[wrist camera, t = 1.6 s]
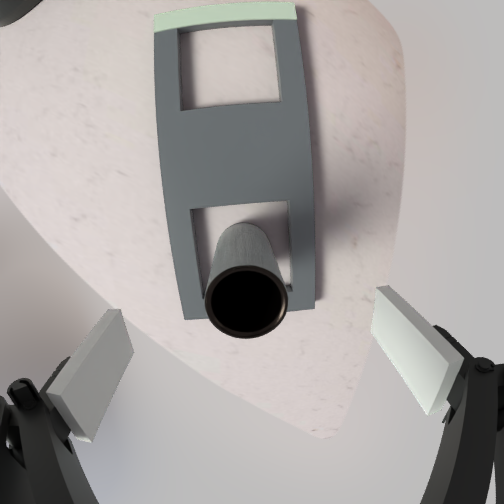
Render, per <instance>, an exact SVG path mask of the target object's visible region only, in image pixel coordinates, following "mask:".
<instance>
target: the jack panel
mask: <svg viewBox="0 0 504 504" xmlns="http://www.w3.org/2000/svg"><path fill="white" fill-rule="evenodd" d="M263 25H272V33H273V41H274V49H275V58H276V67H277V77H278V87H279V97H280V102H271V103H251V104H238V105H226V106H216V107H208V108H200V109H192V110H185V111H183V103H182V85H181V62H180V33H186V32H193V31H199V30H207V29H216V28H226V27H239V26H263ZM154 76H155V102H156V120H157V134H158V147H159V158H160V168H161V177H162V186H163V195H164V203H165V210H166V218H167V225H168V231H169V238H170V244H171V251H172V257H173V262H174V268H175V274H176V279H177V285H178V290H179V295H180V300H181V305H182V310H183V315H184V319H185V320H193V319H209V318H208V316H207V314H206V311H205V306H204V297H205V293H204V291H203V284H202V278H201V271H200V265H199V258H198V251H197V243H196V236H195V228H194V220H193V212H192V209H196V208H206V207H215V206H226V205H237V204H248V203H261V202H274V201H287V205H288V225H289V247H290V276H291V286H286V289H287V293H288V300H289V302H288V309H287V312H290V311H299V310H308V309H315V221H314V192H313V172H312V155H311V141H310V128H309V116H308V105H307V95H306V86H305V77H304V69H303V61H302V53H301V46H300V39H299V32H298V26H297V16H296V10H295V4H294V2H242V3H227V4H216V5H208V6H200V7H193V8H187V9H181V10H175V11H170V12H165V13H161V14H156V15H154Z"/></svg>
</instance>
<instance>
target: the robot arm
mask: <svg viewBox="0 0 504 504" xmlns="http://www.w3.org/2000/svg"><path fill="white" fill-rule="evenodd" d="M40 1H41V0H0V27H3V26H6V25H9V24H11V23H13V22H14V21H16V20H18V19H19V18H21V17H22V16H23V15H25V14H26V13H27V12H29V11H30V10H31V9H32V8H33V7H34V6H36V5H37V4H38V3H39V2H40ZM371 333H372V335H373V336H374V338H375V339H376V341H377V342H378V343H379V345H380V346H381V348H382V349H383V351H384V352H385V353H386V355H387V356H388V357H389V359H390V361H391V362H392V364H393V365H394V366H395V368H396V369H397V371H398V372H399V374H400V375H401V377H402V378H403V380H404V381H405V383H406V384H407V386H408V387H409V389H410V390H411V392H412V393H413V395H414V396H415V398H416V399H417V401H418V402H419V404H420V405H421V407H422V409H423V410H424V412H425V413H426V415H427V416H428V415H431V414H433V413H436V412H438V411H440V410H442V408H443V406H444V404H445V402H446V400H447V401H448V402H449V403H450V405H451V406H450V408H449V410H448V412H447V413H446V415H445V417H444V419H443V421H442V423H444V422H445V420H446V423H445V427H444V431H443V435H442V440H441V444H440V447H439V451H438V454H437V457H436V461H435V464H434V467H433V470H432V473H431V476H430V479H429V482H428V485H427V487H426V490H425V493H424V495H423V498H422V500H421V503H420V504H485V503H486V499H487V494H488V490H489V485H490V480H491V474H492V468H493V462H494V467H495V482H496V504H504V364H498V365H495V364H494V363H493V362H492V361H491V360H489V359H487V358H484V357H477V358H474V357H473V356H472V355H471V354H470V353H469V352H468V351H467V350H466V349H465V348H464V347H463V346H462V345H461V344H460V343H459V342H457V340H456V339H455V338H454V337H452V336H451V335H450V334H449V333H448V332H447V331H446V330H445V329H443V328H441V327H439V326H437V325H435V326H431V324H430V323H429V322H427V321H426V320H425V319H424V318H423V317H422V316H421V315H420V314H419V313H418V312H417V311H416V310H415V309H414V308H413V307H411V305H410V304H408V303H407V302H406V301H405V300H404V299H403V298H402V297H401V296H400V295H399V294H397V293H396V292H395V291H394V290H393V289H392V288H391V287H390V286H389V285H388V286H382V287H376V293H375V302H374V311H373V319H372V326H371ZM133 353H134V351H133V348H132V344H131V341H130V338H129V335H128V332H127V329H126V326H125V322H124V319H123V316H122V312H121V309H108V310H107V311H106V313H105V314H104V315H103V316H102V318H101V319H100V320H99V321H98V323H97V324H96V325H95V326H94V328H93V329H92V330H91V332H90V333H89V334H88V335H87V337H86V338H85V339H84V340H83V342H82V343H81V344H80V346H79V347H78V348H77V350H76V351H75V352H74V354H73V355H72V356H71V357H68V358H66V359H65V360H63V361H62V362H61V363H60V364H59V366H58V367H57V368H56V371H54V372H53V374H52V377H50V378H49V379H48V381H47V382H46V383H45V385H44V386H43V388H42V389H41V390H40V392H39V393H38V391H37V389H36V388H35V386H34V384H33V383H32V381H31V380H30V379H27V378H21V379H18V380H16V381H14V382H13V383H12V384H11V385H10V386H9V388H8V390H7V394H8V395H9V397H10V398H11V400H12V401H13V403H14V405H8V403H7V402H6V400H5V399H4V397H2V396H0V504H99V503H98V501H97V499H96V497H95V495H94V493H93V491H92V489H91V487H90V485H89V483H88V481H87V478H86V476H85V474H84V472H83V469H82V467H81V465H80V462H79V460H78V457H77V455H76V452H75V449H74V447H73V444H72V441H71V440H70V439H69V437H68V436H69V433H70V431H72V433H73V434H74V436H75V437H76V438H77V439H78V440H82V441H86V442H91V443H92V442H93V439H94V437H95V435H96V432H97V430H98V428H99V426H100V423H101V421H102V419H103V417H104V414H105V412H106V410H107V408H108V406H109V403H110V401H111V399H112V397H113V394H114V393H115V391H116V388H117V386H118V384H119V382H120V380H121V378H122V375H123V374H124V372H125V369H126V368H127V366H128V364H129V362H130V360H131V358H132V356H133ZM6 440H7V441H8V443H9V448H7V446H6Z"/></svg>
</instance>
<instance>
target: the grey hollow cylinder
mask: <svg viewBox="0 0 504 504" xmlns="http://www.w3.org/2000/svg"><path fill="white" fill-rule="evenodd" d="M288 302H289V300H288V293H287V289H286V286H285V284H284V281H283V278H282V275H281V273H280V270H279V267H278V264H277V262H276V259H275V256H274V253H273V251H272V248H271V245H270V243H269V240H268V238H267V236H266V235H265V233H264V232H263V231H262V230H261V229H260V228H258V227H257V226H255V225H252V224H249V223H238V224H235V225H232V226H230V227H229V228H227V229H226V230H225V231H224V232H223V233H222V235H221V236H220V238H219V240H218V243H217V247H216V251H215V255H214V259H213V263H212V267H211V271H210V275H209V279H208V283H207V288H206V292H205V297H204V306H205V311H206V314H207V316H208V318H209V320H210V321H211V323H212V324H213V325H214V326H215V327H216V328H217V329H218V330H220V331H221V332H223V333H225V334H227V335H229V336H232V337H235V338H242V339H250V338H256V337H260V336H263V335H265V334H267V333H269V332H271V331H272V330H274V329H275V328H276V327H277V326H278V325H279V324H280V323H281V322H282V320H283V319H284V317H285V315H286V312H287V309H288Z"/></svg>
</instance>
